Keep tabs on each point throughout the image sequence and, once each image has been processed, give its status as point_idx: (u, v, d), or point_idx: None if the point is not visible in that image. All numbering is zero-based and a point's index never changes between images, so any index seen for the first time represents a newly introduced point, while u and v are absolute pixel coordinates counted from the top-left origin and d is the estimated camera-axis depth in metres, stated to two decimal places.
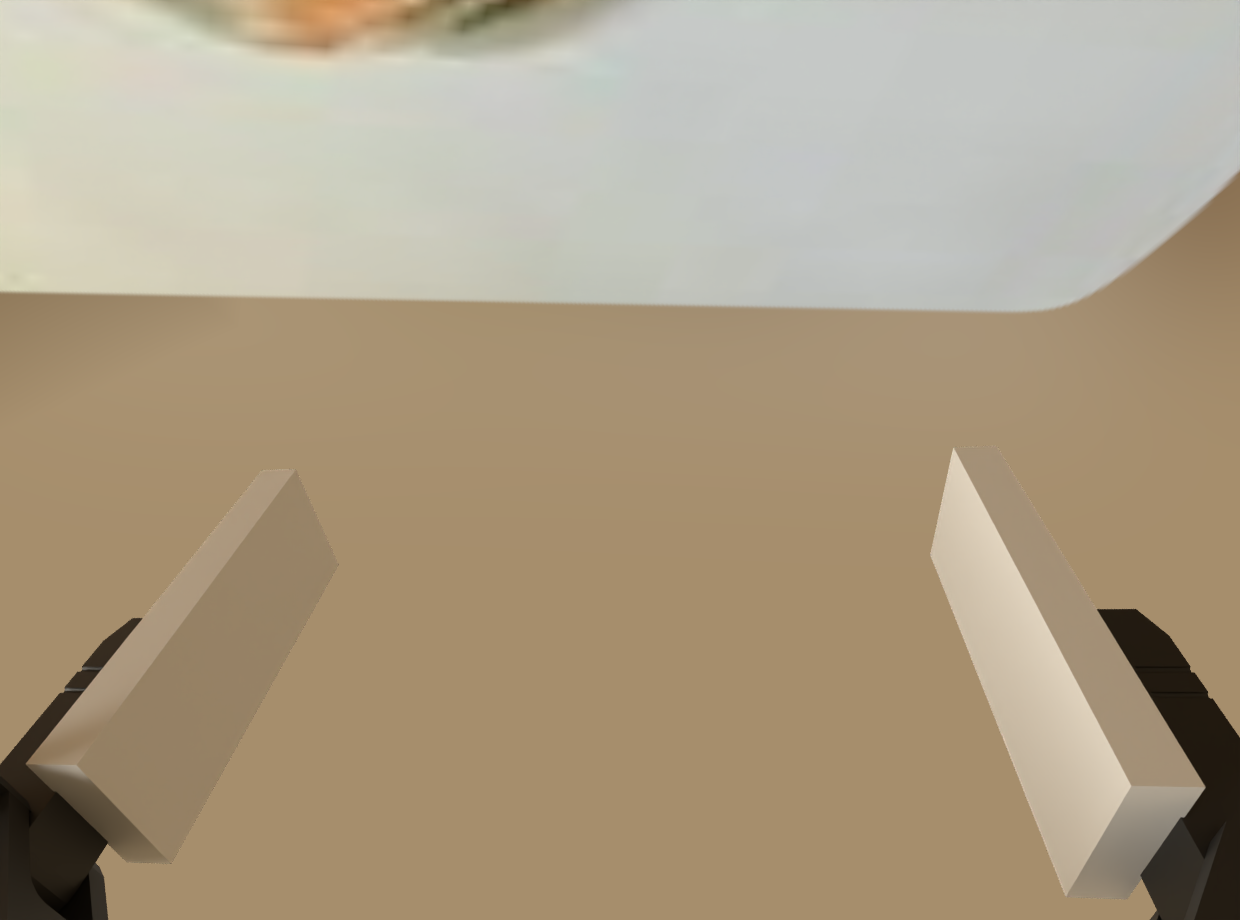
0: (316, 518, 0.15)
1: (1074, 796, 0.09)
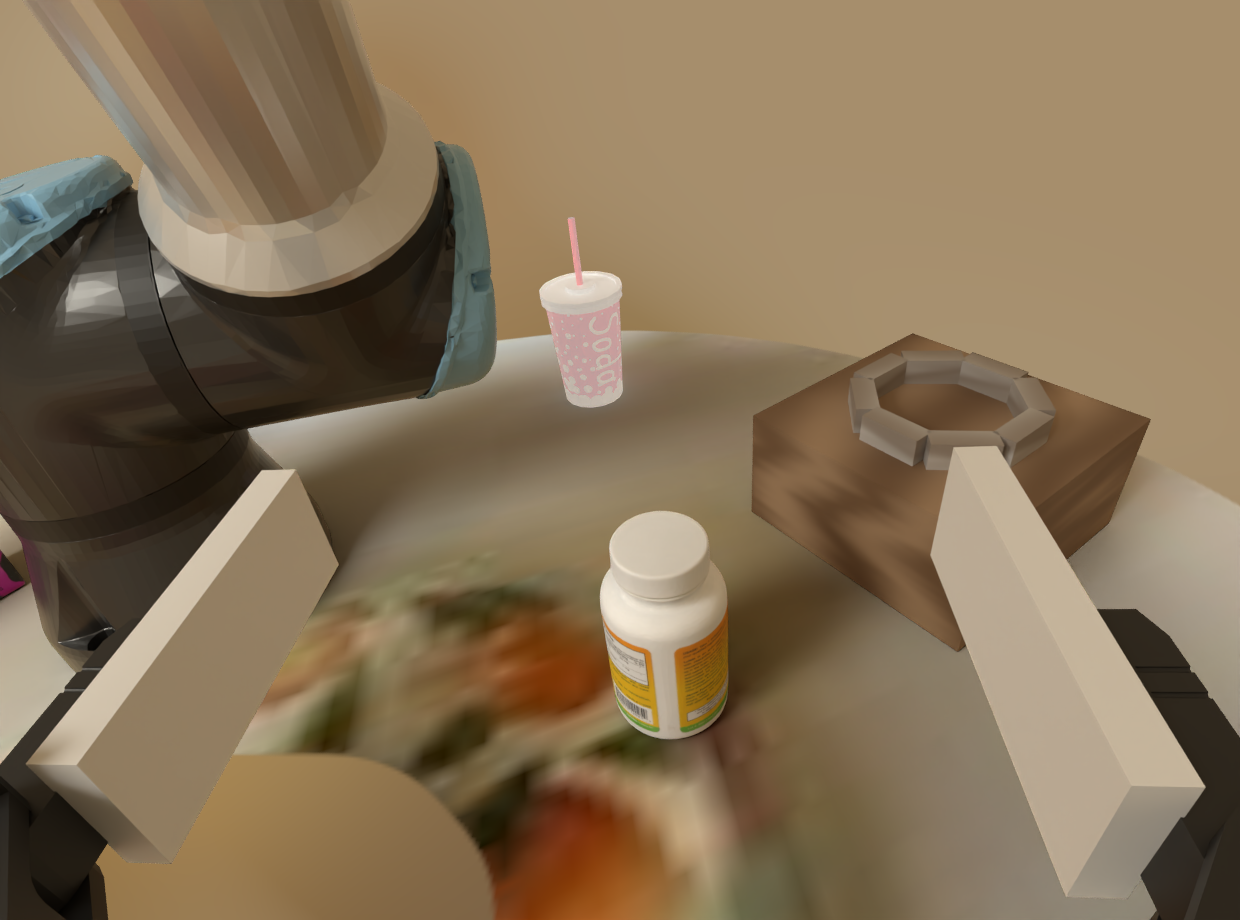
0: (315, 518, 0.15)
1: (1074, 796, 0.09)
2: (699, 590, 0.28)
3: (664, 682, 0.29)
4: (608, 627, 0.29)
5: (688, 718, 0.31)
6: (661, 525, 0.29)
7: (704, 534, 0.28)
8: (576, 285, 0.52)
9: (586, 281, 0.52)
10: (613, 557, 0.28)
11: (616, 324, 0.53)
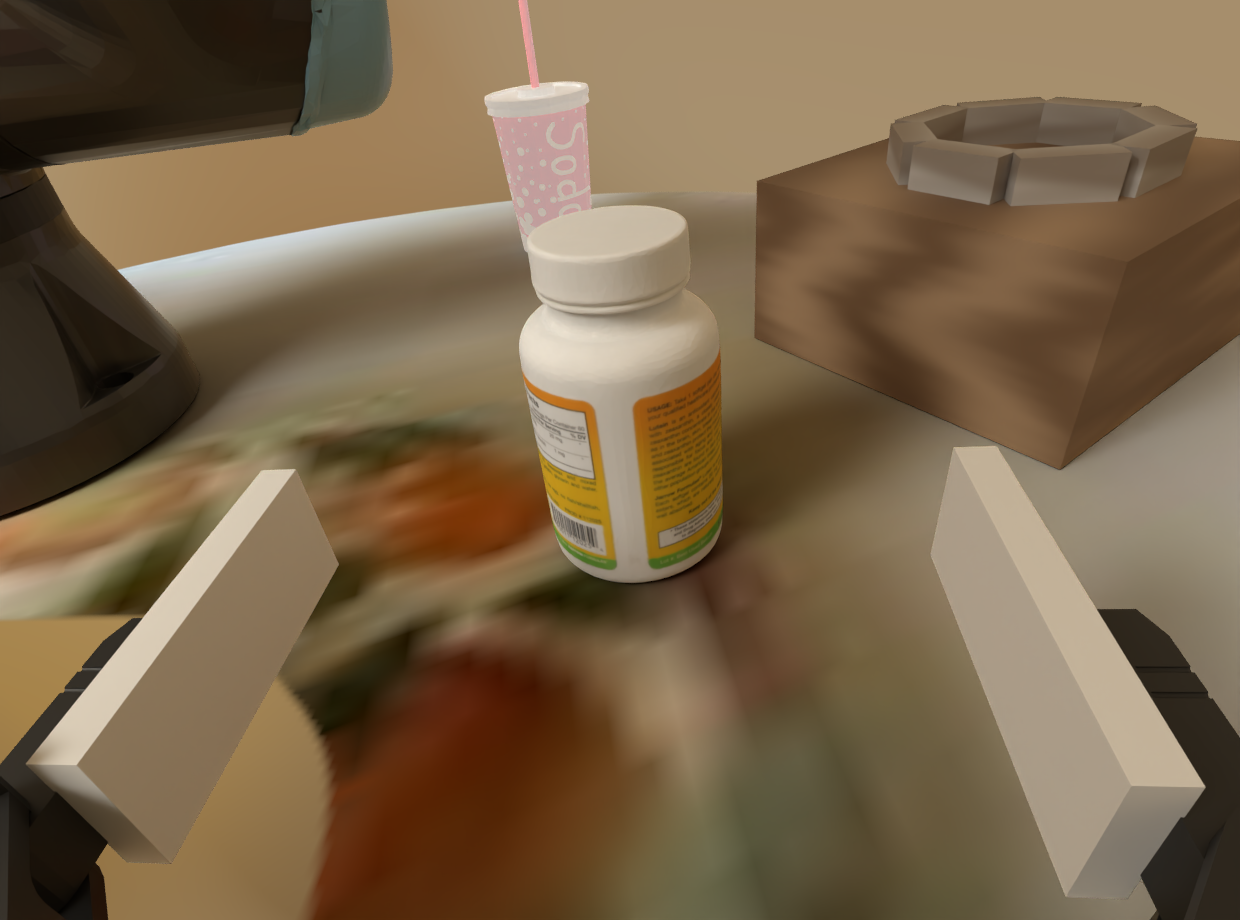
0: (315, 518, 0.15)
1: (1074, 796, 0.09)
2: (673, 309, 0.18)
3: (620, 470, 0.18)
4: (529, 382, 0.18)
5: (660, 543, 0.20)
6: (613, 215, 0.18)
7: (681, 217, 0.17)
8: (531, 87, 0.41)
9: (544, 84, 0.42)
10: (530, 247, 0.17)
11: (582, 140, 0.42)
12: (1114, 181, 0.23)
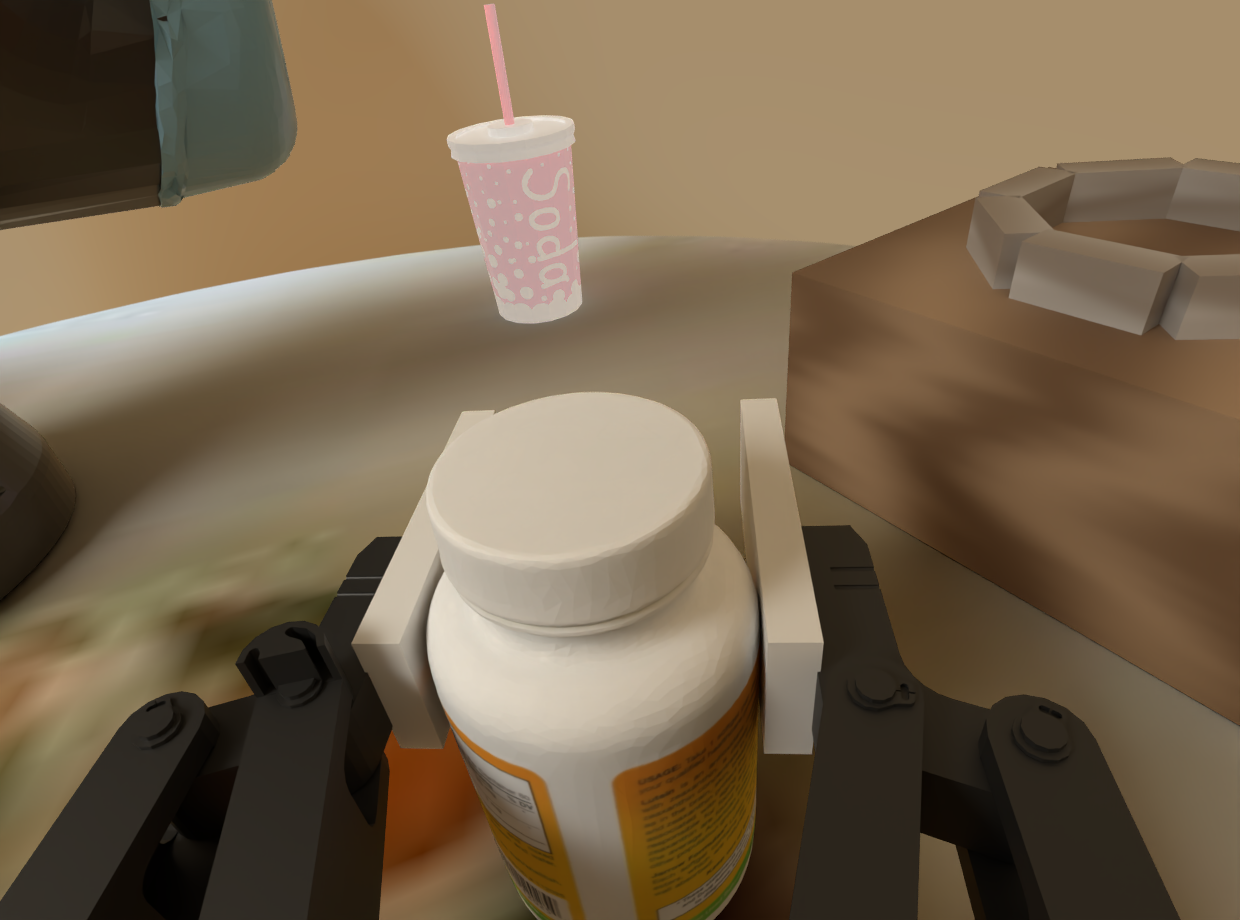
0: None
1: (763, 667, 0.11)
2: (683, 599, 0.10)
3: (593, 850, 0.11)
4: (440, 700, 0.11)
5: None
6: (582, 422, 0.11)
7: (699, 440, 0.10)
8: (504, 125, 0.34)
9: (520, 121, 0.34)
10: (428, 503, 0.09)
11: (567, 188, 0.34)
12: None
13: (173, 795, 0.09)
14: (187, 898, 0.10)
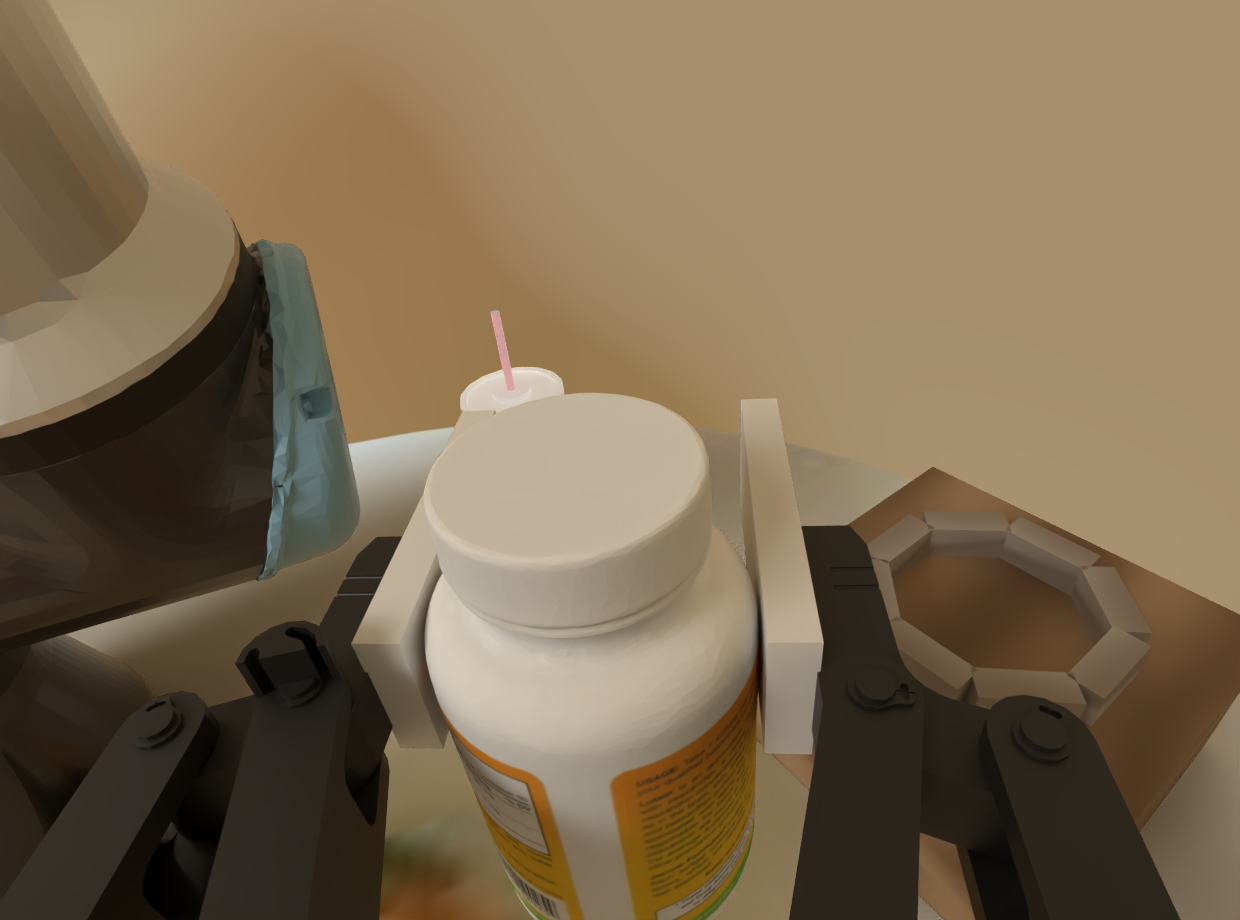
0: None
1: (763, 667, 0.11)
2: (681, 601, 0.10)
3: (591, 851, 0.11)
4: (438, 702, 0.11)
5: None
6: (580, 423, 0.11)
7: (697, 441, 0.10)
8: (506, 391, 0.41)
9: (519, 384, 0.42)
10: (425, 506, 0.09)
11: None
12: None
13: (173, 795, 0.09)
14: (187, 898, 0.10)
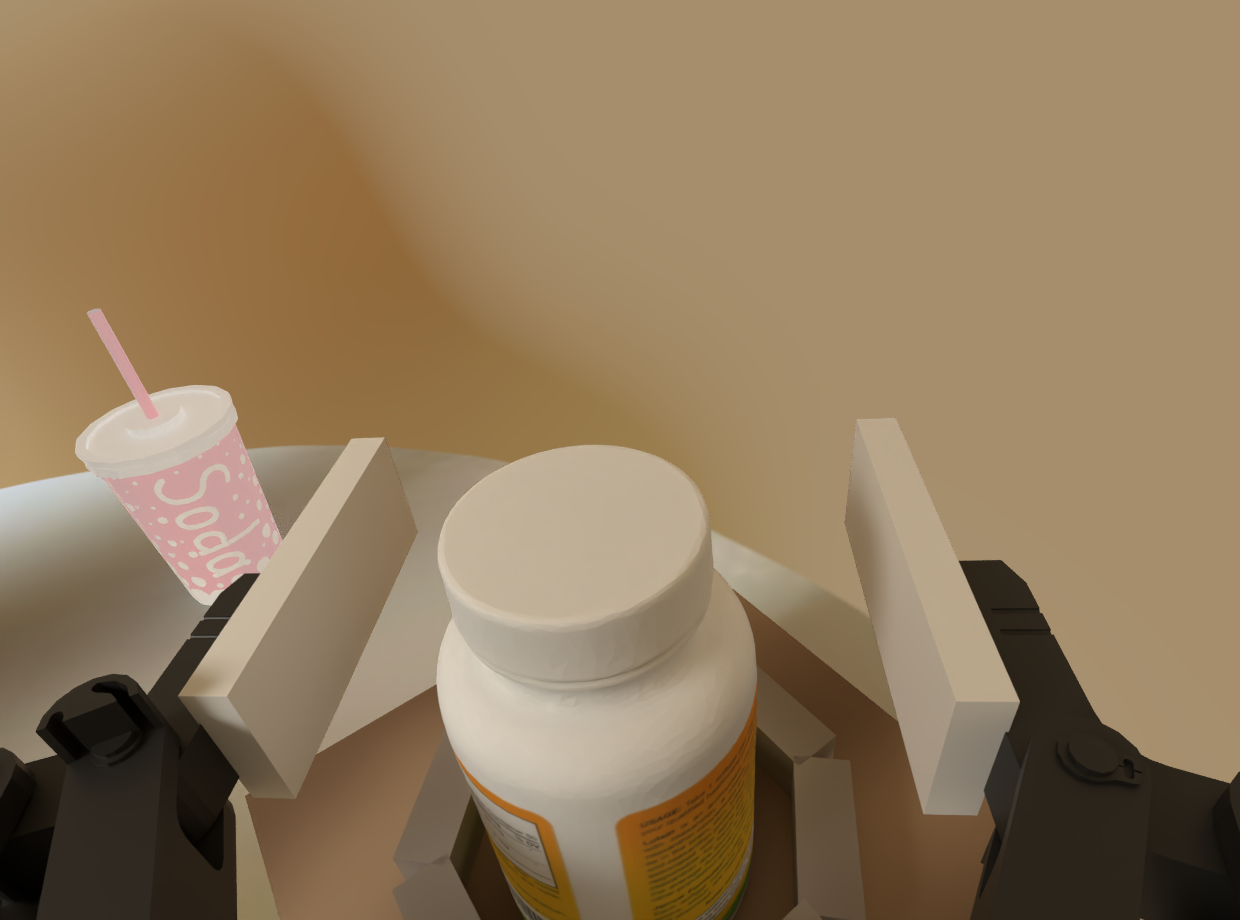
0: (399, 486, 0.16)
1: (927, 721, 0.10)
2: (683, 649, 0.11)
3: (597, 885, 0.11)
4: (450, 743, 0.11)
5: None
6: (586, 477, 0.11)
7: (698, 498, 0.10)
8: (144, 420, 0.30)
9: (168, 410, 0.31)
10: (440, 563, 0.10)
11: (224, 482, 0.31)
12: None
13: None
14: None
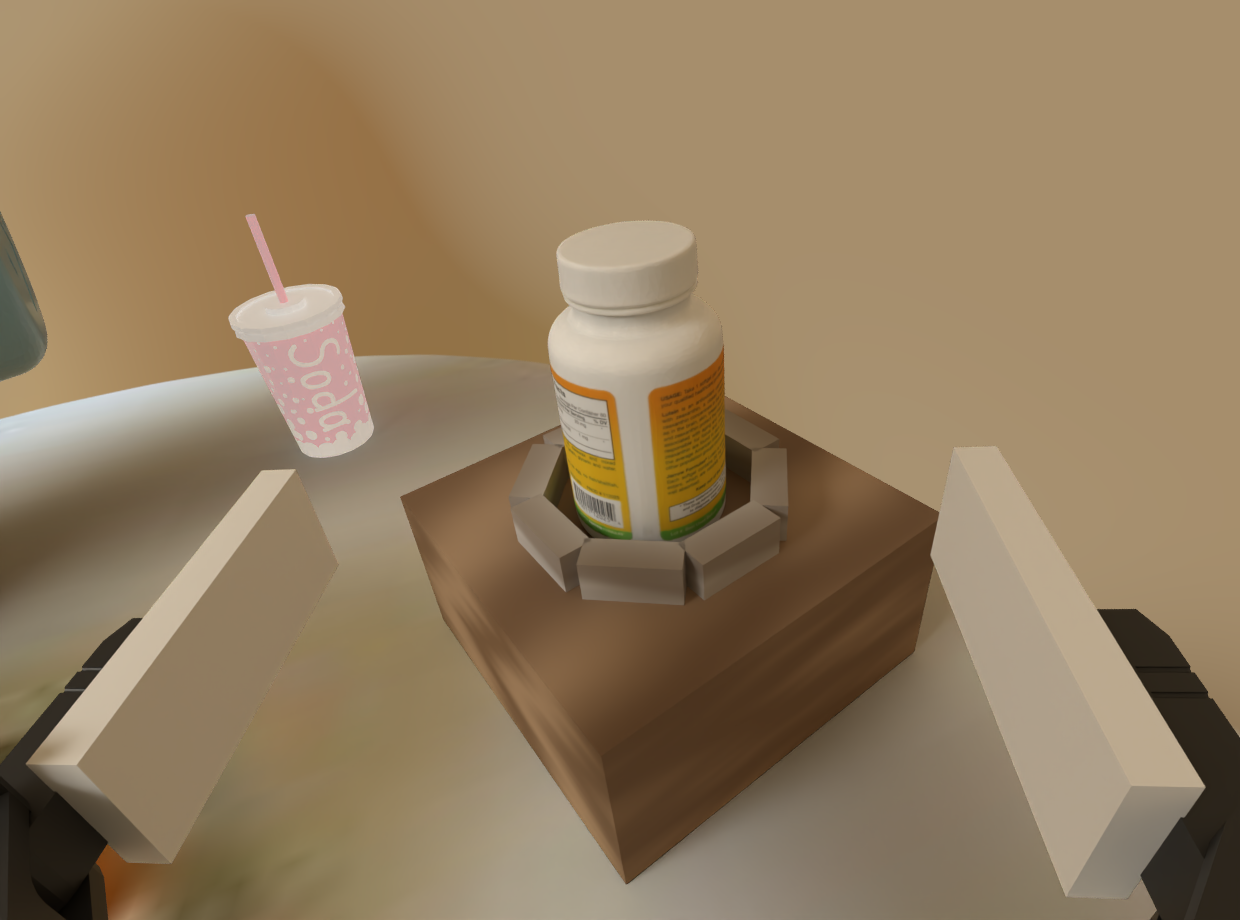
0: (315, 518, 0.15)
1: (1075, 796, 0.09)
2: (682, 312, 0.20)
3: (636, 451, 0.21)
4: (557, 375, 0.21)
5: (671, 517, 0.23)
6: (630, 230, 0.21)
7: (690, 232, 0.20)
8: (278, 303, 0.40)
9: (294, 297, 0.40)
10: (560, 257, 0.20)
11: (336, 353, 0.41)
12: (674, 590, 0.21)
13: None
14: None
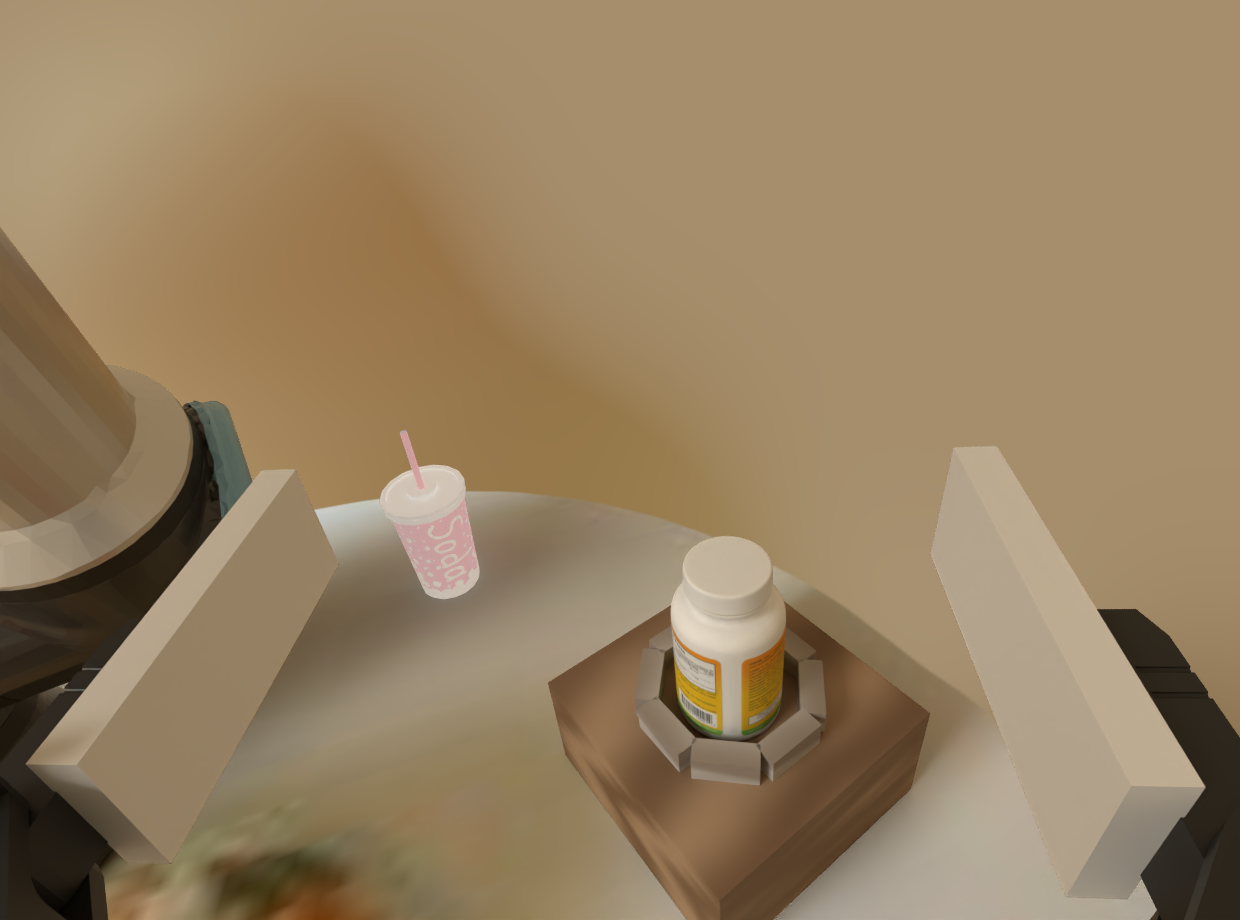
0: (315, 518, 0.15)
1: (1074, 796, 0.09)
2: (763, 607, 0.32)
3: (731, 690, 0.33)
4: (680, 641, 0.33)
5: (749, 723, 0.34)
6: (728, 549, 0.32)
7: (768, 557, 0.32)
8: (417, 489, 0.51)
9: (428, 483, 0.52)
10: (687, 579, 0.31)
11: (460, 525, 0.52)
12: (754, 777, 0.33)
13: None
14: None
